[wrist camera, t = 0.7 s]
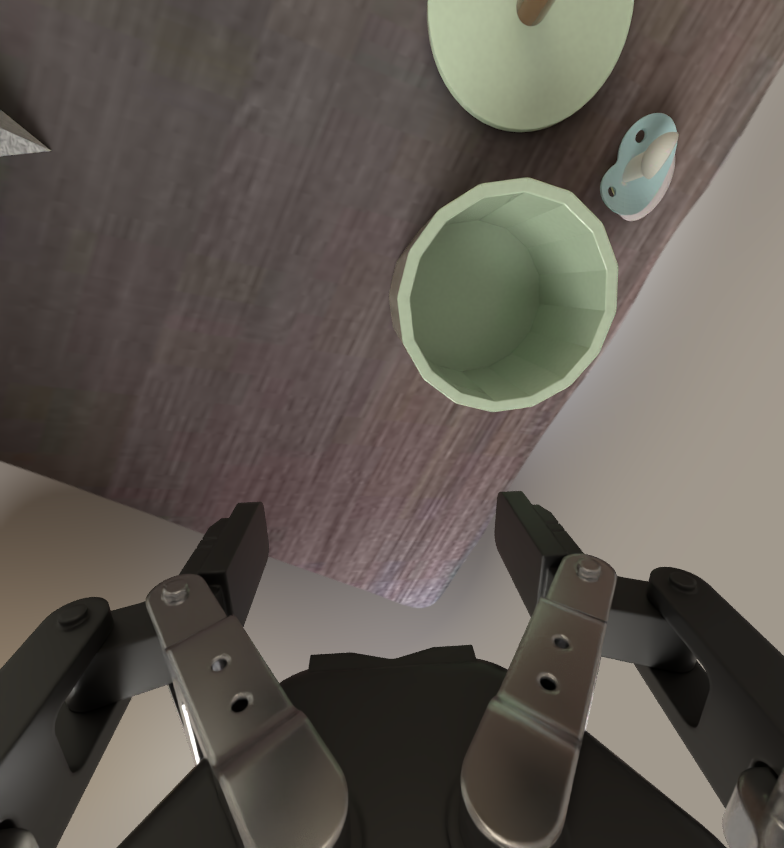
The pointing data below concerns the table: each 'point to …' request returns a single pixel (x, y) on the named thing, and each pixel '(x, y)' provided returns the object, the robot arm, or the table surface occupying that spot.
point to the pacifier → (641, 168)
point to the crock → (505, 294)
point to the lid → (526, 55)
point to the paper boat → (17, 138)
